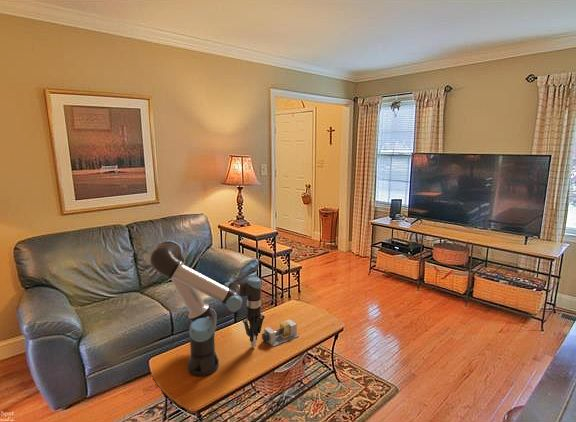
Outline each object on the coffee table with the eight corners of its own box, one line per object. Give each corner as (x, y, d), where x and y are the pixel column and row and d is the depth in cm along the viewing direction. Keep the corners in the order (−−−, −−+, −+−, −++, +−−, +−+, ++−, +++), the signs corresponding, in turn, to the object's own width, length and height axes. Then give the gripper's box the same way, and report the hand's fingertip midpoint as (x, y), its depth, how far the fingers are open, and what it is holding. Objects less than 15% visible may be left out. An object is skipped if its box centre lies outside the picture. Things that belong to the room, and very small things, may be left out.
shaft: (266, 343, 188) (266, 335, 187) (261, 339, 192) (261, 332, 191) (284, 336, 195) (284, 329, 194) (279, 332, 199) (279, 325, 198)
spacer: (283, 337, 196) (284, 326, 194) (279, 334, 199) (279, 323, 198) (289, 335, 198) (289, 323, 197) (285, 331, 201) (285, 320, 200)
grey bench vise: (273, 347, 187) (273, 335, 186) (262, 338, 196) (262, 326, 195) (298, 336, 198) (298, 325, 196) (287, 328, 207) (287, 317, 205)
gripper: (246, 311, 175) (246, 353, 180) (267, 305, 183) (267, 345, 188) (239, 306, 181) (239, 346, 186) (260, 300, 189) (259, 339, 193)
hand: (253, 346), depth 187 cm, fingers closed
